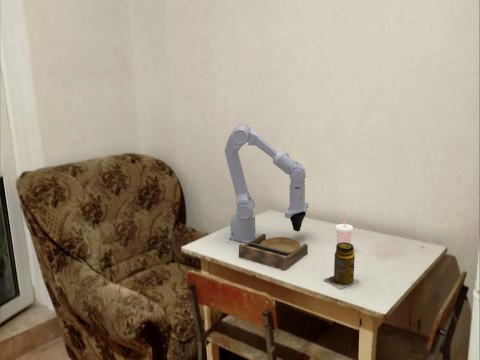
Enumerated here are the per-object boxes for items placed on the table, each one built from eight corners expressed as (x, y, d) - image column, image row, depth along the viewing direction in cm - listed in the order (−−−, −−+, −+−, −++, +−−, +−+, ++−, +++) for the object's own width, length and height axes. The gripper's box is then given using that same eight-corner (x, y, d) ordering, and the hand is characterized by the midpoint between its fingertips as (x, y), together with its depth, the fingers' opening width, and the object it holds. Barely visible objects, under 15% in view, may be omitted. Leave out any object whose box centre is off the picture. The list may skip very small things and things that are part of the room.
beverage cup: (331, 250, 164) (332, 214, 161) (340, 245, 169) (341, 209, 165) (346, 255, 160) (348, 217, 157) (355, 249, 165) (356, 213, 161)
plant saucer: (255, 245, 171) (255, 239, 170) (292, 241, 174) (292, 234, 174) (266, 262, 157) (266, 255, 156) (306, 257, 160) (306, 250, 160)
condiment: (359, 281, 142) (361, 246, 138) (340, 289, 137) (341, 253, 134) (342, 273, 147) (343, 238, 144) (323, 280, 143) (324, 245, 140)
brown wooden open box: (238, 256, 161) (238, 245, 160) (263, 242, 173) (263, 231, 172) (285, 270, 150) (285, 257, 149) (307, 253, 163) (307, 241, 161)
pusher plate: (249, 253, 164) (248, 243, 163) (250, 252, 164) (250, 242, 163) (287, 264, 154) (287, 253, 153) (288, 263, 155) (288, 252, 154)
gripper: (296, 203, 163) (296, 238, 166) (315, 193, 174) (314, 226, 177) (280, 200, 167) (279, 234, 170) (299, 190, 178) (299, 223, 182)
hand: (296, 230), depth 174 cm, fingers closed
